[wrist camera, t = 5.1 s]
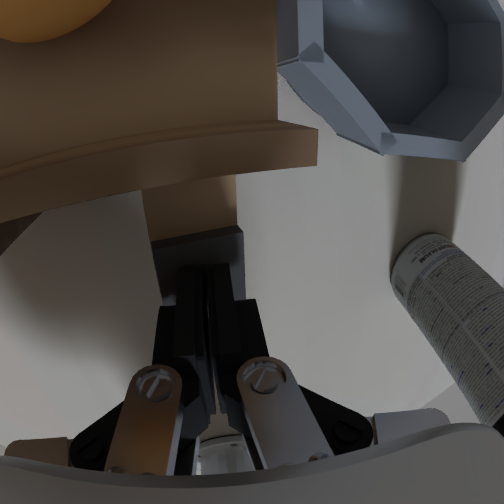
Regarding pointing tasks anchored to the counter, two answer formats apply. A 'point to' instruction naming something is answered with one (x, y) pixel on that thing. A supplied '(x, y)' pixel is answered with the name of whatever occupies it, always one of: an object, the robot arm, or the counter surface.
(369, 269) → the counter surface
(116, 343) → the counter surface
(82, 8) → the ball
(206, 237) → the lever tray
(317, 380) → the counter surface
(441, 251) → the spray can
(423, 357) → the counter surface
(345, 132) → the octagonal bowl
